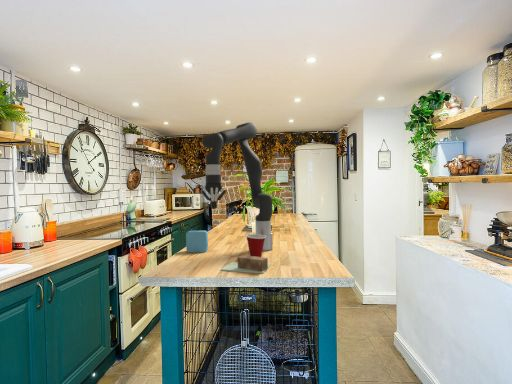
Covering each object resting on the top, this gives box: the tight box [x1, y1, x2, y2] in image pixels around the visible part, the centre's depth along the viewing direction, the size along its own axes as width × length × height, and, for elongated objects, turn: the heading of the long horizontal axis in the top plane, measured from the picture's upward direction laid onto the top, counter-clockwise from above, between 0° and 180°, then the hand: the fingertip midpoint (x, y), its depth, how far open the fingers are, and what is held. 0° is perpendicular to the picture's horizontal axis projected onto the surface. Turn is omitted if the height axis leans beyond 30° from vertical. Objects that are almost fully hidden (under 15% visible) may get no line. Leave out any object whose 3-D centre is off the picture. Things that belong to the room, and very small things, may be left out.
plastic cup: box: [245, 233, 266, 257], centre depth 170 cm, size 11×11×12 cm
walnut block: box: [237, 254, 269, 272], centre depth 146 cm, size 5×5×13 cm
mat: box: [220, 261, 272, 274], centre depth 149 cm, size 20×14×1 cm
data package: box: [185, 230, 209, 253], centre depth 188 cm, size 12×4×12 cm, turn 86°
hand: (213, 208), depth 159 cm, fingers closed
